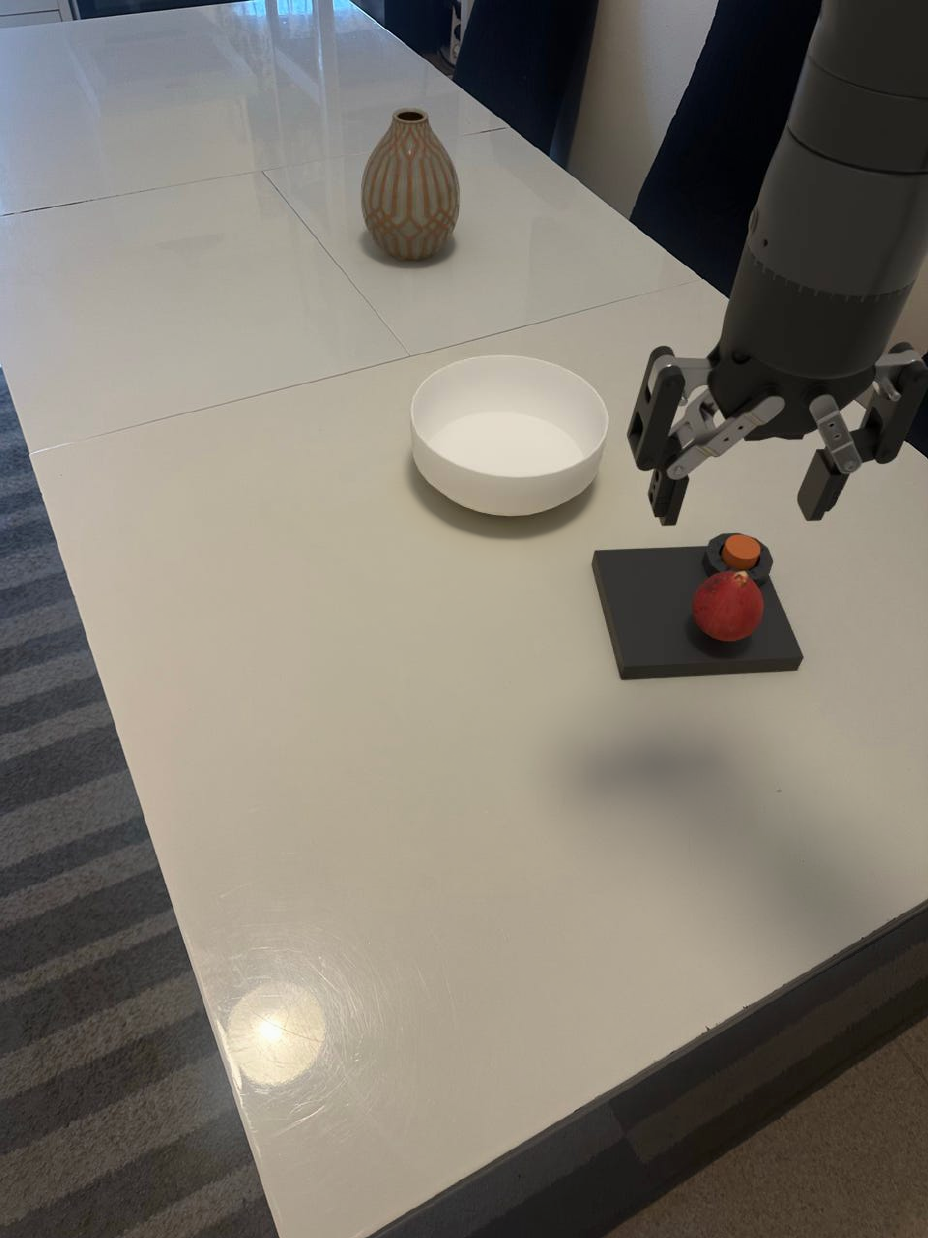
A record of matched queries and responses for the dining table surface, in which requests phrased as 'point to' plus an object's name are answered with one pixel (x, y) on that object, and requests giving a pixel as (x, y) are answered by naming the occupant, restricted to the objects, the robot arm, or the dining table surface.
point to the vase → (410, 189)
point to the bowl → (507, 433)
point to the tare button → (740, 552)
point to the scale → (685, 614)
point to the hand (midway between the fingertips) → (736, 513)
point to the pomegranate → (728, 606)
